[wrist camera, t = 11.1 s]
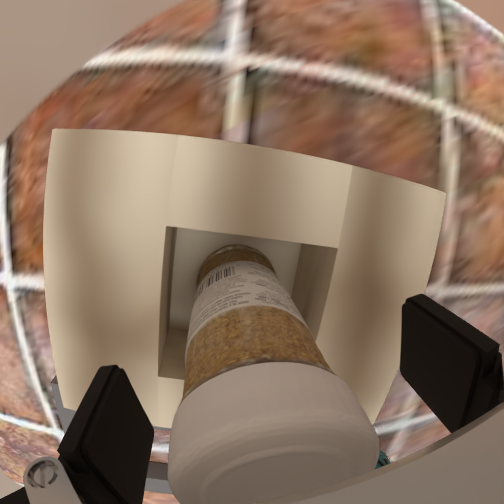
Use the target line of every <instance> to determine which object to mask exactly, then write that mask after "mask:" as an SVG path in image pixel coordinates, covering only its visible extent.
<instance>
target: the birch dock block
mask: <svg viewBox="0 0 504 504" xmlns="http://www.w3.org/2000/svg"><path fill="white" fill-rule="evenodd" d="M446 195H447V193H445V192H442V191H439V190H436V189H433V188H430V187H427V186H424V185H421V184H418V183H414V182H411V181H408V180H404V179H401V178H398V177H394V176H391V175H387V174H383V173H380V172H376V171H372V170H369V169H365V168H361V167H357V166H353V165H349V164H345V163H340V162H336V161H332V160H328V159H323V158H319V157H314V156H309V155H304V154H300V153H295V152H289V151H284V150H279V149H273V148H268V147H262V146H256V145H250V144H244V143H237V142H231V141H224V140H216V139H209V138H201V137H192V136H183V135H174V134H163V133H151V132H138V131H122V130H99V129H53V131H52V137H51V144H50V151H49V158H48V167H47V177H46V188H45V202H44V227H43V257H44V282H45V297H46V308H47V318H48V326H49V334H50V341H51V348H52V354H53V360H54V365H55V370H56V376H57V380H58V385H59V390H60V394H61V398H62V402H63V406H64V408H68V409H72V410H75V411H77V409H78V407H79V405H80V403H81V401H82V399H83V397H84V395H85V393H86V391H87V390H88V388H89V386H90V384H91V382H92V380H93V378H94V376H95V375H96V373H97V371H98V369H99V368H100V367H101V366H107V365H118V366H119V368H123V369H124V370H125V372H126V374H127V376H128V378H129V380H130V383H131V385H132V387H133V389H134V391H135V393H136V395H137V397H138V399H139V401H140V403H141V405H142V407H143V409H144V411H145V412H146V414H147V416H148V418H149V420H150V422H151V424H152V426H157V427H164V428H171V427H172V423H173V419H174V415H175V413H176V411H177V409H178V406H179V404H180V403H181V400H182V397H183V389H184V380H185V370H186V367H185V352H186V344H187V338H188V331H189V325H190V319H191V313H192V307H193V302H194V297H195V293H196V290H197V278H198V274H199V270H200V268H201V266H202V264H203V263H204V261H205V260H206V259H207V257H208V256H210V255H211V254H213V253H214V252H215V251H217V250H219V249H221V248H223V247H225V246H230V245H245V246H249V247H252V248H255V249H257V250H259V251H260V252H261V253H263V254H264V255H265V256H266V257H267V258H268V259H269V260H270V262H271V264H272V266H273V268H274V270H275V272H276V275H277V276H278V278H279V279H280V280H281V282H282V284H283V285H284V287H285V289H286V291H287V292H288V294H289V296H290V298H291V299H292V301H293V303H294V304H295V306H296V308H297V309H298V311H299V313H300V315H301V316H302V318H303V319H304V321H305V323H306V324H307V326H308V328H309V329H310V331H311V333H312V335H313V337H314V339H315V342H316V345H317V347H318V348H319V350H320V351H321V353H322V355H323V357H324V359H325V361H326V362H327V364H328V365H329V367H330V369H331V370H332V372H334V373H335V374H336V375H337V376H338V377H339V378H340V379H342V380H343V381H344V382H345V383H346V384H347V385H348V386H349V387H350V388H351V390H352V391H353V393H354V395H355V396H356V398H357V399H358V401H359V403H360V404H361V406H362V408H363V409H364V411H365V413H366V415H367V416H368V418H369V420H370V422H371V424H372V426H373V424H374V422H375V420H376V418H377V416H378V414H379V412H380V409H381V407H382V405H383V403H384V401H385V399H386V397H387V394H388V392H389V390H390V388H391V385H392V383H393V381H394V378H395V376H396V373H397V371H398V368H399V366H400V352H401V321H402V305H403V304H404V303H405V301H406V299H407V298H409V297H412V296H415V295H418V294H425V290H426V287H427V283H428V279H429V276H430V272H431V268H432V264H433V260H434V256H435V252H436V247H437V243H438V238H439V233H440V229H441V224H442V218H443V213H444V207H445V201H446Z"/></svg>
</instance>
